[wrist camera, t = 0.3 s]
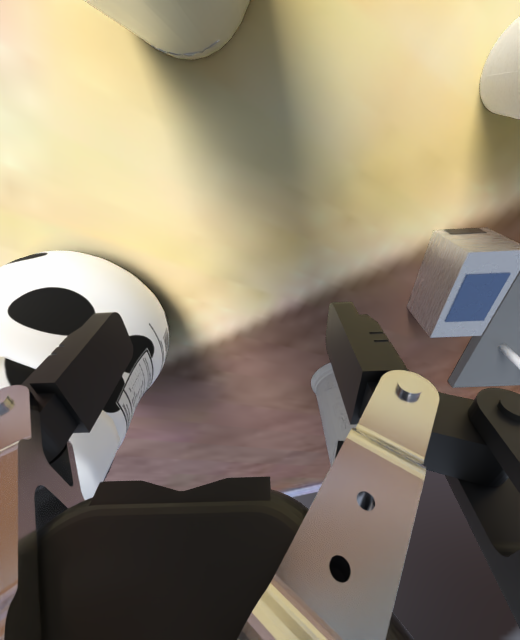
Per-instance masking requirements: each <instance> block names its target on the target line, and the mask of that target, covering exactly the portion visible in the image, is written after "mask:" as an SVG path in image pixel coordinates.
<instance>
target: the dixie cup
mask: <svg viewBox="0 0 520 640" xmlns="http://www.w3.org/2000/svg"><path fill="white" fill-rule="evenodd" d="M480 96H481V99H482V102H483V104H484V106H485V107H486V108H487V109H488V110H489V111H491V112H492V113H495V114H499V115H503V116H508V117H512V118H515V119H520V16H519V17H518V18H517V19H515V20H514V21H513V22H512V23H511V24H510V25H509V26H508V27H507V28H506V29H505V31H504V32H503V33H502V34H501V35H500V37H499V38H498V40H497V41H496V43H495V44H494V46H493V47H492V49H491V51H490V53H489V55H488V57H487V59H486V62H485V65H484V68H483V71H482V75H481V78H480Z"/></svg>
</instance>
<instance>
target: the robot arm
mask: <svg viewBox="0 0 520 640" xmlns="http://www.w3.org/2000/svg"><path fill="white" fill-rule="evenodd" d="M84 1H85V2H87V3H88V4H90V5H91V6H93V7H94V8H96V9H97V10H99V11H100V12H102V13H103V14H105V15H106V16H108V17H110V18H111V19H113V20H114V21H116V22H117V23H119V24H120V25H122V26H123V27H125V28H126V29H128V30H129V31H131V32H132V33H134V34H135V35H137V36H138V37H140V38H141V39H143V40H144V41H146V42H147V43H149V44H150V45H151V46H152V47H153V48H155V49H157V50H159V51H161V52H163V53H165V54H168V55H170V56H173V57H176V58H179V59H192V60H194V59H198V58H203V57H207V56H209V55H211V54H212V53H214V52H216V51H218V50H220V49H221V48H222V47H223V46H224V45H225V44H226V43H227V42H228V41H229V40H230V39H231V38H232V36H233V35H234V33H235V32H236V30H237V29H238V27H239V25H240V24H241V22H242V20H243V17H244V15H245V12H246V10H247V7H248V5H249V2H250V0H84ZM326 348H327V353H328V356H329V359H330V362H331V365H332V368H333V372H334V375H335V378H336V381H337V384H338V387H339V390H340V393H341V397H342V400H343V403H344V406H345V409H346V412H347V415H348V419H349V422H350V425H355V424H357V426H356V428H352V429H351V430H350V432H349V434H348V435H347V437H346V439H345V441H344V443H343V445H342V447H341V449H340V451H339V453H338V455H337V456H336V458H335V460H334V462H333V464H332V466H331V468H330V470H329V472H328V474H327V476H326V478H325V480H324V481H323V483H322V485H321V487H320V489H319V491H318V493H317V495H316V497H315V499H314V501H313V503H312V504H311V506H310V508H309V509H308V508H307V507H305V506H304V505H302V504H301V503H300V502H298V501H297V500H295V499H293V498H292V497H290V496H288V495H286V494H283V493H281V492H278V491H274V490H271V487H270V477H244V478H226V479H223V480H219V481H216V482H213V483H210V484H206V485H203V486H200V487H196V488H193V489H190V490H187V491H176V490H173V489H169V488H166V487H162V486H159V485H155V484H152V483H148V482H145V481H110V482H100V483H99V485H98V488H97V490H96V492H95V494H94V496H93V497H92V498H89V499H87V500H84V498H83V495H82V492H81V487H80V482H79V477H78V471H77V466H76V461H75V455H74V450H73V446H72V443H71V442H70V441H69V439H70V437H71V436H72V434H73V433H90V431H91V429H92V428H93V426H94V424H95V422H96V421H97V419H98V417H99V415H100V414H101V412H102V410H103V408H104V407H105V405H106V403H107V401H108V400H109V398H110V396H111V394H112V393H113V391H114V389H115V387H116V386H117V384H118V382H119V380H120V379H121V377H122V375H123V373H124V372H125V370H126V368H127V366H128V365H129V363H130V361H131V359H132V356H133V344H132V342H131V339H130V337H129V334H128V332H127V329H126V327H125V325H124V322H123V320H122V317H121V316H120V314H119V313H117V312H106V313H95V314H93V315H92V316H91V317H90V318H89V319H88V320H87V321H86V323H85V324H84V325H83V326H82V327H80V328H79V329H77V330H76V331H74V332H73V333H71V334H69V335H68V336H67V337H66V338H65V339H64V340H63V341H62V342H61V343H60V344H59V347H57V348H56V349H55V350H54V351H53V352H52V353H51V355H49V356H48V357H47V358H46V359H45V360H44V361H43V362H42V363H41V364H40V365H39V366H38V367H37V368H36V370H35V371H34V372H33V373H32V374H31V375H30V376H29V377H28V378H27V379H26V380H25V381H24V382H23V383H22V384H21V385H13V386H8V387H4V388H2V389H0V640H414V638H413V637H412V636H411V635H410V633H409V632H408V631H407V630H406V628H405V627H404V626H403V625H402V623H401V622H400V621H399V619H398V618H397V617H396V616H395V614H394V613H393V612H392V611H393V607H394V603H395V598H396V594H397V590H398V586H399V581H400V578H401V574H402V569H403V566H404V561H405V557H406V553H407V549H408V545H409V541H410V537H411V532H412V528H413V524H414V520H415V516H416V512H417V508H418V504H419V499H420V495H421V491H422V487H423V483H424V478H425V473H426V470H430V471H433V472H437V473H440V474H444V475H445V476H446V479H447V481H448V482H449V485H450V487H451V489H452V491H453V493H454V495H455V497H456V499H457V501H458V503H459V505H460V507H461V509H462V511H463V513H464V515H465V517H466V519H467V521H468V524H469V526H470V528H471V530H472V532H473V534H474V536H475V538H476V540H477V542H478V544H479V546H480V548H481V550H482V552H483V554H484V556H485V558H486V560H487V562H488V564H489V566H490V568H491V571H492V572H493V575H494V576H495V579H496V581H497V583H498V585H499V587H500V589H501V591H502V593H503V595H504V597H505V599H506V601H507V603H508V605H509V607H510V609H511V611H512V613H513V615H514V618H515V620H516V622H517V624H518V626H519V628H520V394H517V393H515V392H512V391H509V390H505V389H500V388H487V389H484V390H481V391H480V392H479V393H478V395H477V396H476V398H475V400H472V399H467V398H462V397H458V396H453V395H448V394H443V393H440V392H438V391H437V390H436V388H435V387H434V386H433V385H432V383H430V382H429V381H428V380H427V379H425V378H424V377H422V376H420V375H418V374H416V373H413V372H410V371H408V369H407V368H406V366H405V365H404V363H403V362H402V360H401V358H400V357H399V355H398V354H397V352H396V351H395V349H394V347H393V346H392V344H391V343H390V342H389V341H388V338H387V336H386V335H385V334H384V333H383V330H382V329H381V327H380V326H379V324H378V322H376V321H375V320H374V319H372V318H371V317H369V316H368V315H367V314H364V315H359V314H358V312H357V310H356V308H355V307H354V305H353V303H352V302H335V303H330V305H329V312H328V321H327V330H326Z"/></svg>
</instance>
